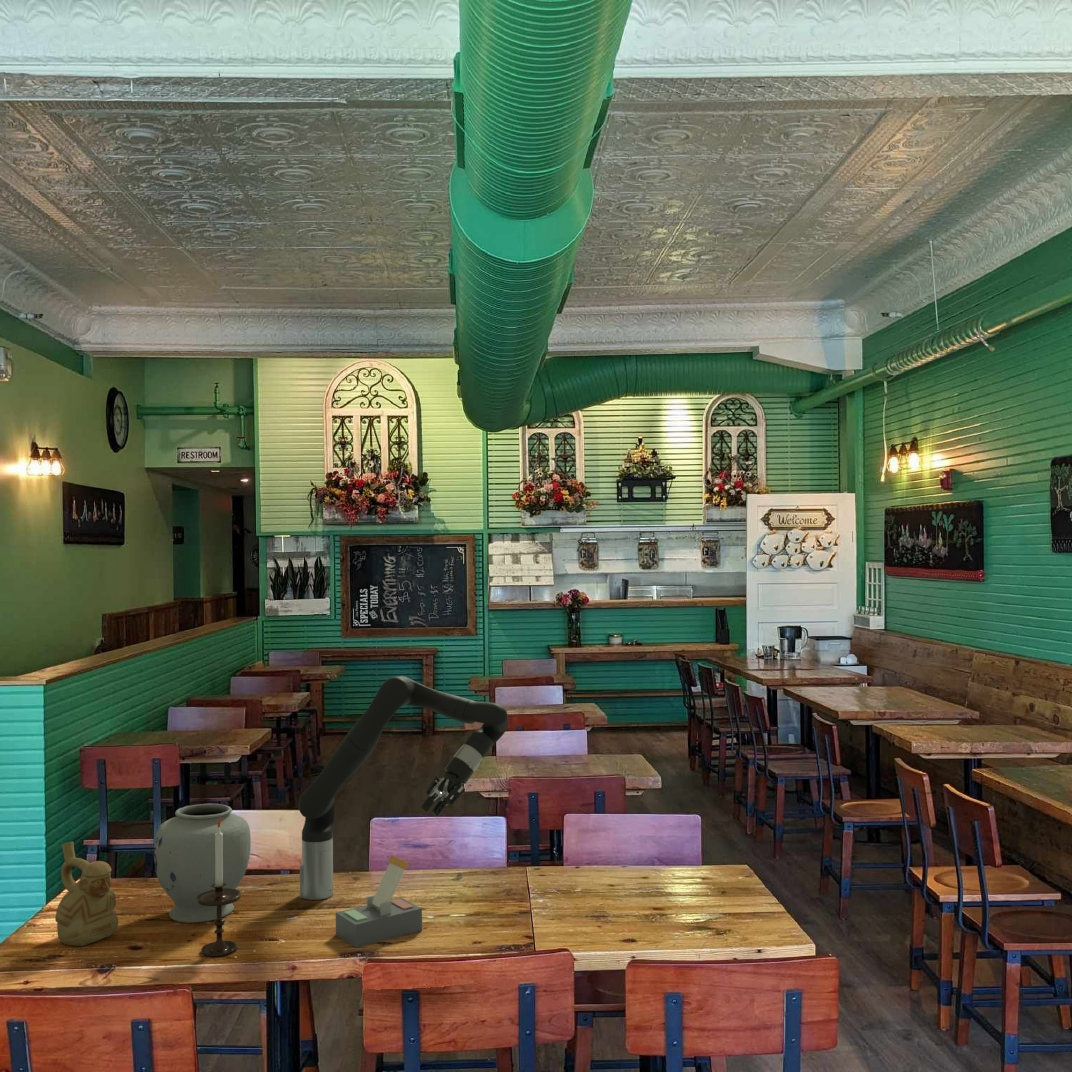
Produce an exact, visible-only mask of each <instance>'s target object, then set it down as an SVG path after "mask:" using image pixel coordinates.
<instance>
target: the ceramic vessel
mask: <svg viewBox="0 0 1072 1072" xmlns="http://www.w3.org/2000/svg"><path fill="white" fill-rule="evenodd" d="M61 849H62V851H63V857H64V862H63V863H62V865H61V871H60V873H61V876H60V877H61V882H62V884H63V887H64V888H65V889H66V890H67V892H66V893H65V894H64V895H63V897H62V898H61V900H59V903H58V905H57V908H56V911H55V912H56V913H55V918H54V919H55V922H56V924H57V925H56V928H57V929H56V930H57V937H58V940H59V942H60V943H61V944H64V945H67V946H80V947H84V946H87V945H89V944H93V943H96V942H98V941H101V940H103V939H105V938H108V937H110V936H112V935H113V934H115V931H116V930H117V929H118V926H119V918H118V916H117V914H116V913H115V912H114V909H115V907H116V905H117V903H116V902H117V900H116V894H115V891H114V889H113V888H112V887H111V886H112V882H113V880H112V877H111V875H112V873H111V872H112V867H111V866H110V864H109V863H107V862H106V861H102V860H96V861H92V862H90V861H88V860H86V859H84V858H81V857H76V852H75V847H74V841H70V842H66V843H62V844H61ZM73 867H74V868H78V869H79V870H80V871H81V874H80V878H79V880H78V881H77V882H76V881H75V880H74V877H73V876H72V875H73V874H72V870H73V869H72V868H73Z"/></svg>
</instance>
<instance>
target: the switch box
mask: <svg viewBox="0 0 1072 1072" xmlns="http://www.w3.org/2000/svg"><path fill="white" fill-rule="evenodd" d="M374 896H375V894H371V895H367V896H366V905H362V906H357V907H353V908H348V909H344V910H341V911H337V912H335V935H336V936H337V937H339V939H341V940H343V941H345V942H346V943H348V944H349V945H350V946H352V947H354V948H356V949H357V948H361V947H364V946H367V945H372V944H375V943H379V942H383V941H388V940H390V939H395V938H399V937H403V936H407V935H410V934H414V933H418V932H422V931H423V908H422V907H420V906H418V905H416V904H415V903H412V902H411V901H409V900H407V899H405V898H403V897H401V896H400V897H396V898H395V897H394V898H392V899H391V901H390V902H386V903H382V904H380V910H379V909H377V908H375V907H374V906H372V901H373V898H374Z"/></svg>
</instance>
